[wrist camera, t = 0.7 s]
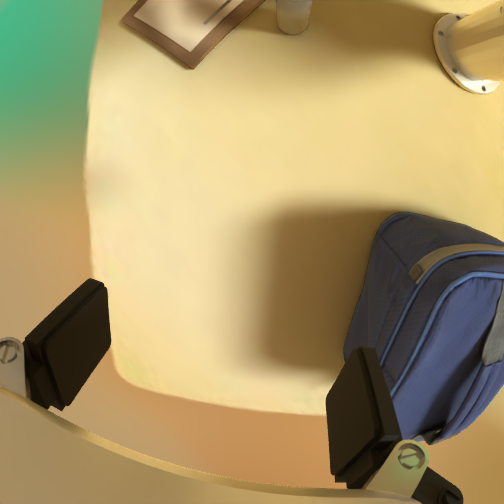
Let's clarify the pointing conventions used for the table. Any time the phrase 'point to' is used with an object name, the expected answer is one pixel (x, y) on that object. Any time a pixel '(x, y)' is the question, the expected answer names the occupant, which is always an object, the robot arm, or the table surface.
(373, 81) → the table surface
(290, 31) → the translucent bottle
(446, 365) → the lunch bag
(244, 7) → the board
